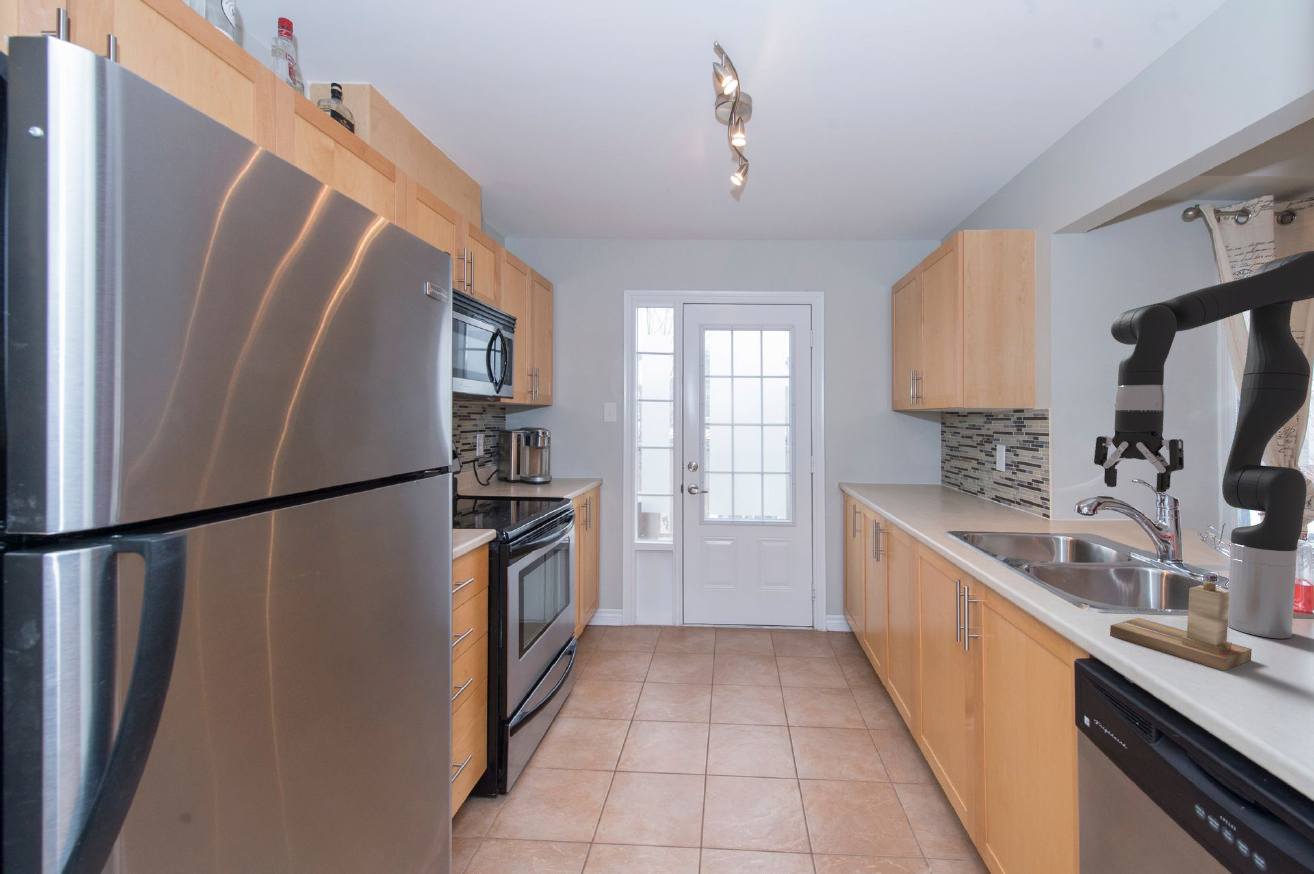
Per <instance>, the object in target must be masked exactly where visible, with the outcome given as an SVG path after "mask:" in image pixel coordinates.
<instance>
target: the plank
mask: <svg viewBox="0 0 1314 874" xmlns="http://www.w3.org/2000/svg"><path fill="white" fill-rule="evenodd" d="M1109 631H1110V632H1109V636H1110V637H1114V638H1117V639H1120V640H1123V641H1127V642H1131V643H1133V644H1137V645H1139V646H1143V647H1146V648H1149V649H1153V650H1155V651H1159V652H1162V653H1165V654H1168V655H1173V656H1175V657H1179V658H1182V659H1185V660H1188V661H1191V662H1195V663H1197V664H1202V665H1205V666H1208V667H1211V668H1214V669H1217V670H1220V671H1227V670H1230V669H1232V668H1234V667H1237V666H1239V665H1242V664H1245V663H1247V662H1249V661H1252V648H1250V647H1246V646H1242V645H1240V644H1236V643H1235V644H1234V643H1232V647H1231V650H1228V651H1225V652H1223V653H1220V654H1215V653H1212V652H1208V651H1205V650H1201V649H1198V648H1195V647H1191V646H1188V645H1184V644H1182V637H1184V636H1187V630H1184V629H1180V628H1177V627H1173V626H1170V625H1166V624H1162V623H1159V622H1155V621H1152V620H1148V619H1145V618H1141V617H1135V618H1131V619H1128V620H1124V621H1121V622H1118V623H1114V624H1111V625H1110V628H1109Z"/></svg>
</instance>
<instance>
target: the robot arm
mask: <svg viewBox="0 0 1314 874" xmlns="http://www.w3.org/2000/svg"><path fill="white" fill-rule="evenodd" d="M1310 299H1311V300H1312V299H1314V250H1308V251H1303V252H1299V253H1298V252H1297V253H1294V254H1290V255H1287V256H1283V257H1280V258H1276V259H1272V260H1270V261H1267V262H1266V263H1263V264H1261V265H1260V266H1259V267H1257V269H1256V270H1255V271H1254V273H1253V275H1251V276H1247V277H1243V278H1239V279H1236V280H1232V281H1228V282H1223V283H1219V284H1216V285H1211V286H1208V287H1204V288H1200V289H1198V290H1194V291H1190V292H1187V293H1183V294H1181V295H1180V294H1179V295H1178V296H1175V297H1173V298H1170V299H1167V300H1165V301H1160V302H1157V303H1153V304H1152V303H1151V304H1149V305H1144V306H1140V307H1136V308H1132V309H1129V310H1128V309H1127V310H1126V311H1123V312H1121V313H1120V314H1119V315H1117V316H1116V318H1114V320H1113V321H1112V324H1111V326H1110V333H1111V336H1112V337H1113V338H1114V340H1115V341H1116V342H1118V343H1121V344H1123V345H1129V346H1130V345H1131V346H1132V345H1133V346H1134V345H1135V347H1134V349H1133V352H1132V353H1131V354H1130V355H1128V356H1125V357H1124V358H1122V359H1121V360H1120V361H1119V364H1118V371H1117V372H1118V374H1117V375H1118V377H1117V391H1116V395H1115V403H1114V409H1115V410H1114V427H1113V429H1114V435H1113V437H1109V436H1107V435H1102V436H1101V435H1100V436H1097V437H1096V438H1095V439H1096V440H1095V447H1094V456H1093V463H1094V465H1098V466H1101V467H1103V468H1104V476H1103V477H1104V480H1103V481H1104V484H1106V486H1107V487H1109V488H1114V487H1117V485H1118V483H1117V482H1118V481H1117V479H1118V468H1116V467H1117V466H1118V465H1119V464H1120V463H1121V462H1123V461H1124V460H1128V459H1129V460H1133V459H1136V460H1139V461H1140V460H1141V461H1144V460H1145V461H1146V460H1147V461H1148V462H1149V463H1150V464H1151V465H1153V467H1154V468H1155V469H1156V470H1157V471H1158V472H1157V473H1156V488H1155V490H1156V492H1157V493H1166V492H1167V490H1169V489H1170V487H1171V477H1172V476H1171V474H1172V473H1174V472H1177V471H1182V470H1184V469H1185V459H1184V457H1185V456H1184V440H1183V439H1181V438H1175V439H1174V438H1173V439H1164V437H1163V433H1164V413H1165V392H1164V381H1165V380H1164V379H1165V377H1164V376H1165V363H1166V361H1167V359H1168V356H1169V355H1170V351H1171V348H1172V345H1173V343H1174V340H1175V337H1176V333H1178V332H1184V331H1189V330H1192V329H1195V328H1200V327H1203V326H1205V325H1209V324H1212V323H1215V322H1218V321H1222V320H1223V319H1227V318H1230V317H1232V316H1233V317H1234V316H1235V315H1239V314H1242V313H1245V312H1248V311H1249V328H1248V329H1249V330H1248V331H1249V332H1248V339H1247V341H1248V342H1247V349H1246V351H1247V352H1246V358H1245V359H1246V360H1245V364H1244V369H1243V374H1242V375H1243V376H1242V381H1241V387H1240V394H1239V395H1240V398H1239V406H1238V412H1237V413H1238V415H1237V419H1236V421H1237V422H1236V425H1235V431H1234V435H1233V440H1232V444H1231V448H1230V452H1229V456H1228V457H1227V458H1228V459H1227V463H1226V465H1225V469H1224V474H1223V478H1222V486H1221V487H1222V496H1223V500H1224V501H1225V503H1226V504H1227V505H1228V506H1230V507H1232V508H1235V509H1241V510H1247V511H1248V510H1249V511H1255V512H1263V513H1264V517H1263V519H1262V521H1261V522H1260V523H1259V522H1258V523H1257V524H1253V525H1247V526H1238V527H1235V528H1233V529H1232V531H1231V534H1230V551H1229V552H1230V553H1229V554H1230V555H1229V569H1228V571H1229V572H1228V589H1227V591H1229V609H1228V627H1229V628H1231V629H1233V630H1236V631H1239V632H1242V633H1246V634H1249V635H1254V636H1259V637H1264V638H1272V639H1290V638H1292V636H1293V635H1292V634H1293V621H1294V620H1293V619H1294V605H1295V589H1296V573H1297V556H1298V555H1297V553H1298V543H1299V539H1300V536H1301V534H1302V531H1303V530H1302V529H1303V522H1304V514H1305V508H1306V501H1307V500H1306V499H1307V492H1308V491H1307V481H1306V478H1305V475H1303V473H1302V472H1301V471H1300V470H1298V469H1296V468H1293V467H1288V466H1287V467H1286V466H1278V465H1277V466H1273V465H1262V462H1263V461H1262V460H1263V457H1264V454H1265V450H1266V448H1267V446H1268V443H1269V442H1270V441H1271V439H1272V438H1273V437H1274V436H1275V435H1276V434H1277V433H1278V431H1279V430H1281V428H1283V427H1284V425H1286V424H1287V423H1288V422H1289V421H1291V419H1292V418H1293V417H1294V416H1296V414H1297V413H1299V411H1300V410H1301V409H1302V407H1303V406H1304V405H1305V402H1306V400H1307V396H1308V390H1309V384H1310V376H1311V367H1310V366H1311V365H1310V363H1309V360H1308V359H1307V357H1306V355H1305V353H1304V351H1303V350H1302V349H1301V347H1300V345H1299V344H1298V342H1297V341H1296V339H1295V338H1294V336H1293V334H1292V331H1291V316H1292V315H1291V314H1292V308H1293V305H1294V303H1296V302H1302V301H1305V300H1310ZM1112 445H1113V446H1114V447H1115V450H1114V451H1113V452H1112V453H1111V454H1110V456H1109V458H1108V454H1109V447H1111V446H1112ZM1163 447H1165V449H1166V450H1167V451H1168V455H1169V456H1168V457H1169V461H1168V462H1167V461H1166V458H1165V456H1164V455H1163V454H1162V453H1161V452H1160V450H1161V449H1163Z"/></svg>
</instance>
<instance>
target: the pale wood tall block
mask: <svg viewBox="0 0 1314 874" xmlns="http://www.w3.org/2000/svg"><path fill="white" fill-rule="evenodd" d="M1202 583H1203V585H1201V584H1200V585H1197V586H1191V587H1189V591H1188V610H1187V625H1186V627H1187V628H1186V631H1187V636H1184V637H1182V644H1184V645H1188V646H1191V647H1195V648H1198V649H1201V650H1205V651H1208V652H1212V653H1215V654H1220V653H1223V652H1225V651H1228V650H1231V647H1232V644H1233V643H1232V642H1231V641H1227V640H1228V627H1229V626H1228V609H1229V591H1228V590H1223V589H1219V588H1216V587H1217V583H1215V582H1210V581H1203V582H1202Z"/></svg>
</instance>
